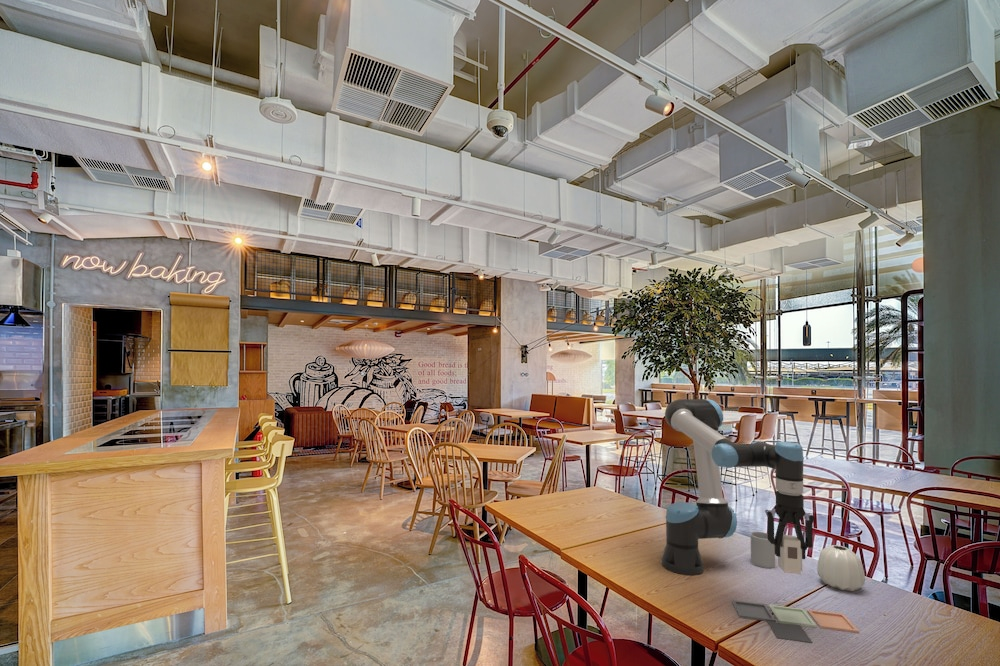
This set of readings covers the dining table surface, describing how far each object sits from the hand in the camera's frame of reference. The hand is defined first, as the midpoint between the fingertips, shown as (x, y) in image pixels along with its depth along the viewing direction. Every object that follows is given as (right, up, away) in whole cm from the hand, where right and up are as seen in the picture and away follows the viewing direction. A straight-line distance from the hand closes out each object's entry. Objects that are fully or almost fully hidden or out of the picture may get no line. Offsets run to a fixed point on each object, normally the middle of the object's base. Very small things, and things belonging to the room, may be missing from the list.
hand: (789, 567), depth 149 cm
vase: (+31, -17, +21) cm, 42 cm away
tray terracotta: (+10, -15, -4) cm, 19 cm away
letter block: (0, -1, 0) cm, 1 cm away
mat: (-6, -14, -10) cm, 19 cm away
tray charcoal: (-11, -15, +1) cm, 19 cm away
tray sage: (0, -15, -1) cm, 15 cm away
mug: (+15, -18, +40) cm, 47 cm away
